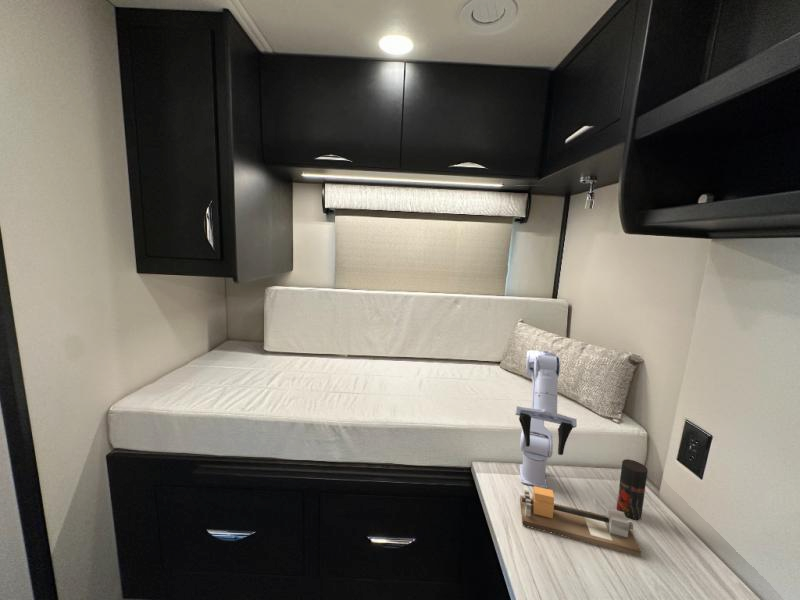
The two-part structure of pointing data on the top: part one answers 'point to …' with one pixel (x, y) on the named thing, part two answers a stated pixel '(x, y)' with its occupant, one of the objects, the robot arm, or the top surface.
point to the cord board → (584, 525)
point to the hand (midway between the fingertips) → (543, 450)
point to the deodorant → (632, 489)
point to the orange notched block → (543, 502)
